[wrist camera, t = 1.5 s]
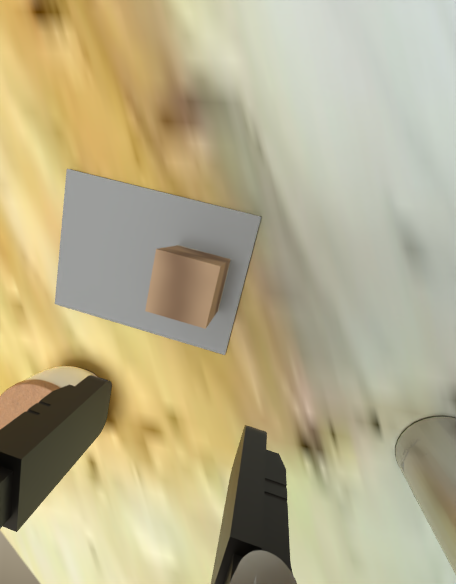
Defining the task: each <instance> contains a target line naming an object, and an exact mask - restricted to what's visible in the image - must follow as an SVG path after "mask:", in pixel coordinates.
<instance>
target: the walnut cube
mask: <svg viewBox="0 0 456 584" xmlns="http://www.w3.org/2000/svg"><path fill="white" fill-rule="evenodd" d="M230 260H231V259H229V258H225V257H221V256H217V255H213V254H210V253H206V252H202V251H198V250H195V249H191V248H187V247H183V246H179V245H176V246H170V247H165V248H159V249H156V252H155V258H154V264H153V269H152V275H151V281H150V286H149V292H148V298H147V303H146V309H145V311H146V312H150V313H153V314H157V315H160V316H163V317H167V318H170V319H174V320H177V321H180V322H184V323H187V324H191V325H194V326H198V327H201V328H204V329H206V328H207V326H208V325H209V323H210V322H211V320H212V319H213V317H214V316H215V315H216V313H217V312H218V309H219V305H220V301H221V297H222V293H223V289H224V285H225V281H226V277H227V273H228V269H229V264H230Z"/></svg>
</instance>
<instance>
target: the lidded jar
mask: <svg viewBox="0 0 456 584" xmlns="http://www.w3.org/2000/svg"><path fill="white" fill-rule="evenodd" d="M89 375H93V376H96V375H95V374H94V373H92V372H90V371H88V370H85V369H81V368H78V367H73V366H59V367H53V368H50V369H47V370H44V371H41V372H39V373H37V374H34V375H32V376H31V377H29V378H27V379H25V380H24V381H21V382H19V383H17V384H15V385H13V386H12V387H10V388H8V389H7V390H6V391H5V392H4V393H3V394H2V395H1V396H0V429H2V428H3V427H4V426H6V425H7V424H8V423H10V422H11V421H13V420H14V419H15V418H17V417H18V416H19V415H21V414H22V413H24V412H25V411H26V412H27V411H28V409H29V408H30V407H32V406H33V405H34V404H36V403H39V401H40V400H41V399H43V398H44V397H45V396H47V395H48V394H49V393H51V392H52V391H54V390H57V389H59V388H62V387H64V386H67V385H73V386H76V385H77V384H78V383H79V382H81V381H82V380H83V379H85V378H86V377H87V376H89ZM96 377H97V376H96Z"/></svg>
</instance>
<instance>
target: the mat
mask: <svg viewBox="0 0 456 584" xmlns="http://www.w3.org/2000/svg"><path fill="white" fill-rule="evenodd" d="M260 220H261V217H260V216H256V215H252V214H248V213H244V212H240V211H236V210H232V209H228V208H224V207H220V206H216V205H212V204H208V203H204V202H200V201H196V200H191V199H187V198H183V197H179V196H175V195H171V194H167V193H163V192H159V191H155V190H151V189H147V188H143V187H139V186H135V185H131V184H127V183H123V182H119V181H115V180H111V179H106V178H102V177H98V176H94V175H90V174H86V173H82V172H78V171H74V170H70V169H67V173H66V184H65V196H64V207H63V218H62V230H61V241H60V252H59V263H58V275H57V286H56V297H55V304H57V305H60V306H63V307H67V308H70V309H73V310H77V311H80V312H83V313H87V314H90V315H93V316H97V317H100V318H103V319H107V320H110V321H113V322H117V323H120V324H123V325H127V326H130V327H133V328H137V329H140V330H143V331H147V332H150V333H153V334H157V335H160V336H163V337H167V338H170V339H173V340H177V341H180V342H183V343H187V344H190V345H193V346H197V347H200V348H203V349H206V350H210V351H213V352H216V353H220V354H223V355H225V353H226V350H227V346H228V342H229V338H230V334H231V331H232V327H233V323H234V319H235V315H236V311H237V308H238V304H239V300H240V296H241V292H242V289H243V285H244V281H245V277H246V273H247V270H248V266H249V262H250V258H251V254H252V251H253V247H254V243H255V239H256V235H257V232H258V228H259V224H260ZM176 245H179V246H183V247H187V248H191V249H195V250H198V251H202V252H206V253H210V254H213V255H217V256H221V257H225V258H229V259H231V260H230V264H229V269H228V273H227V277H226V281H225V285H224V289H223V293H222V297H221V301H220V305H219V309H218V312H217V313H216V315H215V316H214V317H213V319H212V320H211V322H210V323H209V325H208V326H207V328H206V329H204V328H201V327H198V326H194V325H191V324H187V323H184V322H180V321H177V320H174V319H170V318H167V317H163V316H160V315H157V314H153V313H150V312H146V311H145V309H146V303H147V298H148V292H149V286H150V281H151V275H152V269H153V264H154V258H155V252H156V249H159V248H165V247H170V246H176Z"/></svg>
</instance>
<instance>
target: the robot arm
mask: <svg viewBox="0 0 456 584" xmlns="http://www.w3.org/2000/svg"><path fill="white" fill-rule="evenodd" d="M111 388H112V383H111V381H108V380H105V379H102V378H99V377H96V376H93V375H89V376H87V377H86V378H85V379H83V380H82V381H81V382H79V383H78V384H77V385H76V386H73V385H67V386H64V387H62V388H59V389H57V390H54V391H52V392H51V393H49V394H48V395H47V396H45V397H44V398H43V399H41V400H40V401H39V403H36V404H34V405H33V406H32V407H30V408H29V409H28V411H27V412H26V411H25V412H24V413H22V414H21V415H19V416H18V417H17V418H15V419H14V420H13V421H11V422H10V423H8V424H7V425H6V426H4V427H3V428H2V429H0V528H1V527H2V526H3V527H6V528H8V529H11V530H13V531H16V532H17V531H18V530H19V529H20V527H21V526H22V525H23V524H24V523H25V522H26V520H27V519H28V518H29V517H30V516H31V515H32V513H33V512H34V511H35V510H36V509H37V507H38V506H39V505H40V504H41V503H42V502H43V500H44V499H45V498H46V497H47V496H48V495H49V493H50V492H51V491H52V490H53V489H54V487H55V486H56V485H57V484H58V483H59V482H60V480H61V479H62V478H63V477H64V476H65V475H66V473H67V472H68V471H69V470H70V469H71V467H72V466H73V465H74V464H75V463H76V462H77V460H78V459H79V458H80V457H81V456H82V455H83V453H84V452H85V451H86V450H87V449H88V447H89V446H90V445H91V444H92V443H93V442H94V440H95V439H96V438H97V437H98V436H99V434H100V433H101V431H102V429H103V427H104V425H105V422H106V419H107V414H108V408H109V401H110V395H111ZM266 439H267V433H266V432H265V431H262V430H259V429H256V428H253V427H249V426H246V425H245V427H244V430H243V433H242V437H241V440H240V443H239V447H238V450H237V453H236V457H235V460H234V463H233V467H232V471H231V476H230V480H229V486H228V491H227V497H226V503H225V508H224V514H223V519H222V525H221V530H220V536H219V542H218V547H217V553H216V558H215V564H214V570H213V575H212V581H211V584H297V583H296V580H295V578H294V576H293V573H292V569H291V564H290V549H289V527H288V506H287V488H286V485H287V484H286V469H285V466H284V464H283V462H282V460H281V458H280V455H279V454H278V453H275V452H272V451H269V450H266ZM395 455H396V460H397V463H398V465H399V467H400V469H401V471H402V473H403V474H404V476H405V478H406V480H407V482H408V484H409V486H410V488H411V490H412V492H413V494H414V496H415V498H416V500H417V502H418V504H419V506H420V507H421V509H422V511H423V513H424V515H425V517H426V519H427V521H428V523H429V525H430V527H431V528H432V530H433V532H434V534H435V536H436V538H437V540H438V542H439V544H440V546H441V548H442V549H443V551H444V553H445V555H446V557H447V559H448V561H449V563H450V565H451V567H452V569H453V570H454V572H455V574H456V418H452V417H431V418H427V419H423V420H421V421H418V422H416V423H414V424H413V425H411V426H410V427H408V428H407V429H406V430H405V431H404V432H403V433H402V435H401V436H400V438H399V439H398V442H397V445H396V452H395Z"/></svg>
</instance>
